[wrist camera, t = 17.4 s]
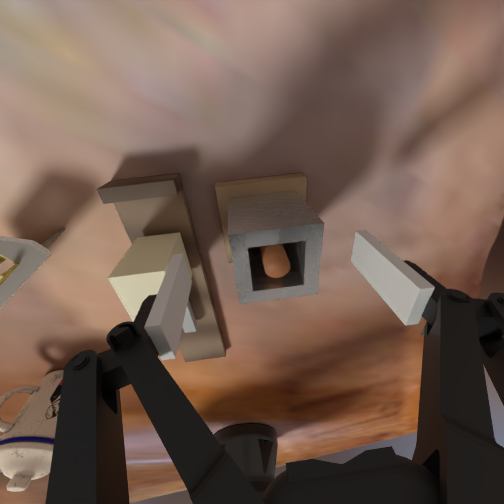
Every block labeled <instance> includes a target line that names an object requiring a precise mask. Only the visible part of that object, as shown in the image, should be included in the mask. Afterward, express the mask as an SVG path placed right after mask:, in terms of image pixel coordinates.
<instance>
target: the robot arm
mask: <svg viewBox="0 0 504 504" xmlns="http://www.w3.org/2000/svg"><path fill="white" fill-rule="evenodd" d="M351 262H352V263H353V264H354V265H355V267H356V268H357V269H358V270H359V271H360V273H361V274H362V275H363V276H364V277H365V278H366V280H367V281H368V282H369V283H370V284H371V286H372V287H373V288H374V289H375V290H376V291H377V293H378V294H379V295H380V296H381V297H382V299H383V300H384V301H385V302H386V303H387V304H388V306H389V307H390V308H391V309H392V310H393V312H394V313H395V314H396V315H397V316H398V317H399V319H400V320H401V321H402V322H403V323H404V325H405V326H407V325H414V324H419V322H420V319H421V317H423V318H424V319H425V320H426V321H427V322H426V325H425V327H424V329H423V331H422V333H421V335H424V346H423V360H422V374H421V388H420V402H419V416H418V430H417V443H416V448H415V452H414V455H413V459H412V460H410V459H408V458H405V457H402V456H399V455H396V454H395V452H394V450H393V448H392V446H391V447H385V448H379V449H373V450H366V451H364V452H363V453H361V454H359V455H358V456H356V457H354V458H353V459H351V460H349V461H348V462H346V463H344V464H337V463H331V462H326V461H320V460H315V459H309V460H302V461H296V462H290V463H286V471H284V472H282V473H281V474H279V475H278V476H277V477H276V478H275V468H276V458H277V447H278V442H277V435H276V431H275V430H274V429H273V428H271V427H269V426H266V425H262V424H241V425H235V426H231V427H228V428H225V429H223V430H221V431H219V432H217V433H216V434H215V435H213V433H212V432H211V431H210V429H209V428H208V427H207V425H206V424H205V422H204V421H203V420H202V418H201V417H200V415H199V414H198V413H197V411H196V410H195V409H194V407H193V406H192V404H191V403H190V402H189V400H188V399H187V397H186V396H185V395H184V393H183V392H182V390H181V389H180V388H179V386H178V385H177V384H176V382H175V381H174V379H173V378H172V377H171V375H170V374H169V372H168V371H167V370H166V368H165V367H164V365H163V364H162V363H161V361H160V360H159V359H158V354H159V356H160V358H161V360H167V359H174V358H176V354H177V349H178V345H179V340H180V335H181V331H182V326H183V322H184V317H185V312H186V308H187V303H188V299H189V294H190V289H191V285H192V280H191V277H190V274H189V271H188V267H187V264H186V261H185V258H184V254H175V255H173V256H172V258H171V261H170V263H169V266H168V269H167V271H166V274H165V276H164V279H163V281H162V284H161V286H160V289H159V291H158V294H155V295H149V296H148V297H147V298H146V299H145V300H144V301H143V302H142V304H141V307H140V309H139V311H138V313H137V315H136V317H135V320H134V322H123V323H121V324H119V325H117V326H115V327H114V328H113V329H112V330H111V331H110V332H109V333H108V335H107V342H108V344H109V345H110V347H111V348H112V349H109V350H107V351H104V352H102V353H99V354H97V353H96V352H95V351H93V350H86V351H83V352H80V353H79V354H77V355H75V356H74V357H73V358H72V359H71V360H69V362H68V363H67V364H66V366H65V369H64V373H63V380H62V387H61V395H60V402H59V409H58V417H57V424H56V431H55V439H54V446H53V453H52V461H51V468H50V475H49V482H48V490H47V497H46V504H129V493H128V481H127V470H126V459H125V447H124V436H123V425H122V414H121V402H120V391H119V389H120V388H122V387H125V386H127V385H129V384H132V386H133V388H134V390H135V392H136V394H137V396H138V397H139V399H140V401H141V403H142V405H143V407H144V409H145V411H146V412H147V414H148V416H149V418H150V420H151V422H152V424H153V426H154V428H155V429H156V431H157V433H158V435H159V437H160V439H161V441H162V443H163V444H164V446H165V448H166V450H167V452H168V454H169V456H170V458H171V459H172V461H173V463H174V465H175V467H176V469H177V471H178V473H179V474H180V476H181V478H182V480H183V482H184V484H185V486H186V488H187V490H188V492H189V494H190V498H191V500H192V502H193V504H504V448H503V447H502V446H500V445H499V444H497V443H496V441H495V438H494V433H493V426H492V419H491V413H490V406H489V400H488V394H487V387H486V380H485V374H484V367H483V364H484V366H485V368H486V370H487V372H488V375H489V376H490V378H491V381H492V383H493V385H494V387H495V389H496V391H497V393H498V395H499V397H500V399H501V401H502V403H503V405H504V294H503V293H492V294H490V296H489V297H488V299H487V300H483V299H473V298H471V297H470V296H468V295H467V294H465V293H463V292H461V291H458V290H454V289H446V288H445V287H444V286H442V285H441V284H440V283H439V282H437V281H436V280H435V279H434V278H432V277H431V276H430V275H428V274H427V273H426V272H425V271H422V269H421V268H420V267H418V266H417V265H416V264H414V263H412V262H409V261H407V260H406V261H403V260H401V259H400V258H399V257H398V256H397V255H395V254H394V253H393V252H392V251H391V250H389V249H388V248H387V247H386V246H385V245H383V244H382V243H381V242H380V241H378V240H377V239H376V238H375V237H374V236H372V235H371V234H370V233H369V232H368V231H366V230H362V231H356V234H355V240H354V245H353V251H352V257H351Z"/></svg>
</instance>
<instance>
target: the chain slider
mask: <svg viewBox="0 0 504 504" xmlns="http://www.w3.org/2000/svg"><path fill="white" fill-rule="evenodd" d="M175 254H184V258H185V261H186V264H187V267H188V271H189V274H190V277H191V278H192V271H191V267H190V264H189V261H188V257H187V254H186V251H185V248H184V244H183V241H182V238H181V235H180V232H178V233H170V234H162V235H154V236H145V237H137V239H136V240H135V241H134V243H133V244H132V245H131V247H130V248H129V250H128V251H127V252H126V254H125V255H124V256H123V258H122V259H121V261H120V262H119V263H118V265H117V266H116V267H115V269H114V270H113V272H112V273H111V274H110V276H109V277H108V279H109V281H110V283H111V284H112V286H113V288H114V290H115V291H116V293H117V295H118V297H119V298H120V300H121V302H122V304H123V305H124V307H125V309H126V310H127V312H128V314H129V316H130V317H131V319H132V321H133V322H134V320H135V317H136V315H137V313H138V311H139V309H140V307H141V304H142V302H143V301H144V300H145V299H146V298H147V297H148V296H149V295H155V294H158V291H159V289H160V286H161V284H162V281H163V279H164V276H165V274H166V271H167V269H168V266H169V263H170V261H171V258H172V256H173V255H175ZM182 327H183V329H184V332H185V333H188V332H195V331H196V330H197V322H196V319H195V317H194V314H193V311H192V308H191V305H190V302H189V299H188V303H187V308H186V312H185V317H184V322H183V326H182Z"/></svg>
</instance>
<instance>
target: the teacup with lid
mask: <svg viewBox="0 0 504 504" xmlns="http://www.w3.org/2000/svg"><path fill="white" fill-rule="evenodd" d="M63 373H64V370H57V371H53V372H51V373H49V374H47V375H46V376H44V377H43V379H42V380H41V381H40V383H39V384H38V386H37V387H36V386H32V385H23V386H19V387H16V388H14V389H12V390H10V391H8V392H6V393H5V394H4V395H2V396H1V397H0V407H1V406H2V404H3V403H4V402H5V401H6V400H7V399H8V398H9V397H10V396H12V395H13V394H16V393H20V392H24V393H29V394H31V396H30V397H29V399H28V400H27V401H26V403H25V404H24V406H23V407H22V409H21V410H20V411H19V413H18V414H17V416H16V417H15V419H14V420H13V421H12V423H8V422H5V421H3V420H1V418H0V431H2V432H5V433H4V434H3V436H2V437H1V439H0V468H1V470H2V472H3V474H4V475H5V476H7V477H9V478H11V480H10V481H9V483H8V485H7V490H8V491H14V492H18V491H23V490H25V489H26V488H27V487H28V486H29V484H30V482H31V480H33V479H38V478H40V477H43V476H45V475H46V474H48V473H50V468H51V461H52V453H53V446H54V439H55V431H56V424H57V417H58V409H59V402H60V395H61V387H62V380H63Z"/></svg>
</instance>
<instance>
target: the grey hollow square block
mask: <svg viewBox="0 0 504 504" xmlns="http://www.w3.org/2000/svg"><path fill="white" fill-rule="evenodd" d="M323 229H324V222H323V221H322V220H321V219H320V218H319V217H318V215H317V214H316V213H315V212H314V211H313V209H312V208H311V207H310V206H309V205H308V204H307V202H306V201H305V200H304V199H303V198H302V197H301V195H300V194H299V193H298V192H297V191H296V190H288V191H279V192H271V193H263V194H254V195H246V196H237V197H229V198H228V238H229V244H230V249H231V255H232V261H233V267H234V273H235V279H236V284H237V290H238V296H239V302H240V304H244V303H252V302H260V301H267V300H275V299H283V298H290V297H298V296H306V295H313V294H318V283H319V272H320V261H321V251H322V240H323ZM275 244H282V245H283V247H284V250H285V252H286V255H287V257H288V260H289V262H290V270H289V271H288V273H287V274H286V275H284V276H282V277H279V278H273V277H270V276H268V275H267V274H266V272H265V269H264V265H263V260H262V256H261V251H260V247H259V246H267V245H275Z"/></svg>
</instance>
